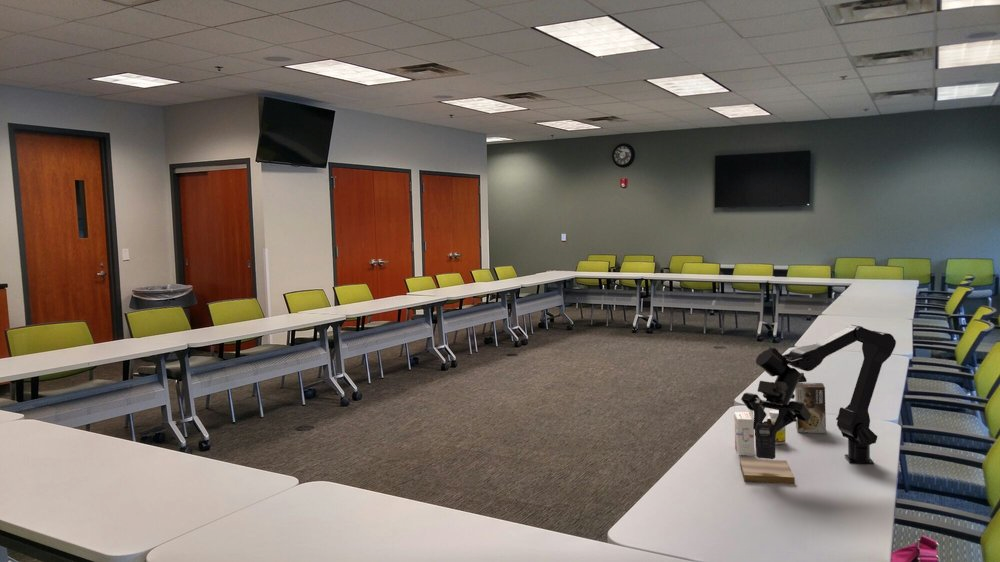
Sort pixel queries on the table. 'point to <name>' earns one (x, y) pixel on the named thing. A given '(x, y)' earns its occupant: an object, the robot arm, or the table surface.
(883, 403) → the table surface
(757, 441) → the two-way radio
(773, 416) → the supplement bottle
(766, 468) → the tan flat wooden block
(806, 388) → the coffee box
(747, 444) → the ink cartridge box
